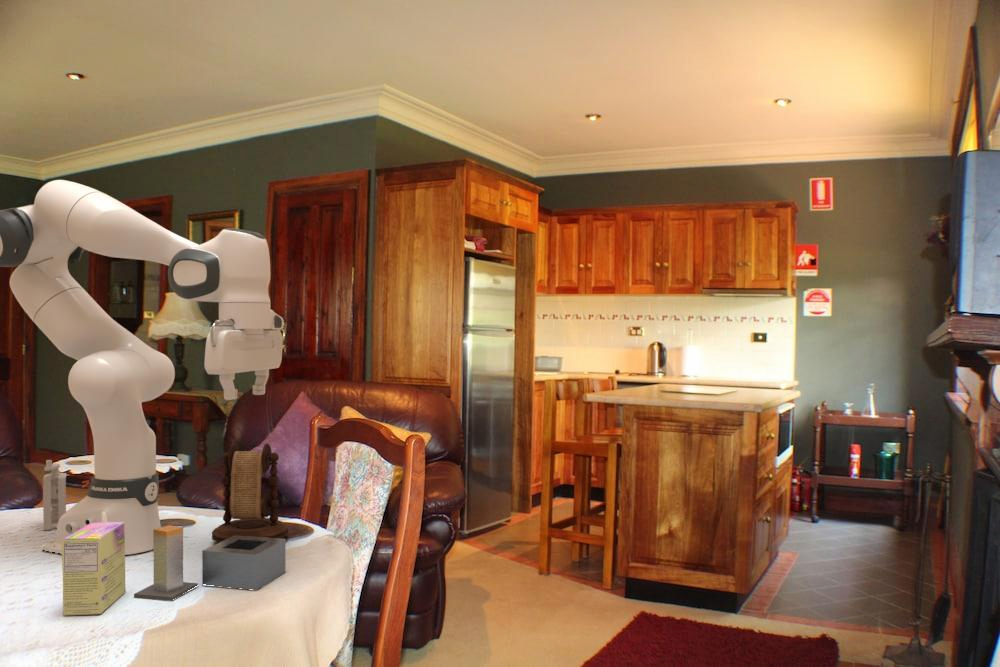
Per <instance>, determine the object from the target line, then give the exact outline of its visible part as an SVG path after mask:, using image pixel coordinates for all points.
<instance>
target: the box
mask: <svg viewBox="0 0 1000 667" xmlns="http://www.w3.org/2000/svg"><path fill="white" fill-rule="evenodd" d="M61 562H62V564H61V565H62V566H61V567H62V616H63V617H67V616H68V617H69V616H89V615H90V616H93V615H95V616H96V615H101V614H103V612H104V611H106V610H107V609H108V608H109V607H110V606H111V605H112V604H113V603H115V601H117V600H118V599H119V598H120V597H122V596H123V595H124V594H126V555H125V533H124V522H103V523H90V524H88V525H87V526H85V527H83V528H81V529H80V530H78V531H76V532H75V533H73V534H71V535H69V536H68V537H66V538H64V539H62V554H61Z"/></svg>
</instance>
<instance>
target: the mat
mask: <svg viewBox="0 0 1000 667" xmlns="http://www.w3.org/2000/svg"><path fill="white" fill-rule="evenodd" d="M197 585H198V586H199V583H198V582H189V581H188V582H186V581H185V582H184V581H183V588H181V589H178V590H176V591H173V592H170V593H163V592H159V591H154V583H153V584H151V585H149V586H146V587H145V588H143V589H141V590H139V591H137V592H135V593H134V594H133V598H137V599H146V598H147V600H156V599H158V600H159V601H167V600H173V599H175V598H177V597H178V596H180V595H182V594H183V593H185V592H187V591H188V590H190V589H192V588H194V587H195V586H197ZM182 596H183V595H182ZM180 597H181V596H180ZM177 599H178V598H177ZM175 600H176V599H175ZM173 601H174V600H173Z"/></svg>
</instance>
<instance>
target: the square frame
mask: <svg viewBox="0 0 1000 667" xmlns="http://www.w3.org/2000/svg"><path fill="white" fill-rule="evenodd" d="M201 554H202V555H201V556H202V557H201V558H202V559H201V560H202V561H201V562H202V566H201V567H202V568H201V569H202V571H201V572H202V574H201V575H202V578H201V579H202V580H201V582H202V583H201V584H202V585H203V584H206V585H214V586H222V587H231V588H242V589H253V590H257V589H258V588H260V587H261V588H263V587H264V586H263V585H265V584H266V585H267V583H268V584H269V583H271V582H273V581H274V580H275V579H278V578H279V577H281V576H282V575H284V574H285V573H286V538H267V537H252V536H238V535H234V536H232V537H230V538H228V539H226V540H224V541H222V542H220V543H218V544H216V543H215V544H214V545H211V546H209V547H208V548H205V549H203V550H202V551H201ZM272 580H273V581H272ZM270 581H271V582H270ZM266 585H265V586H266ZM262 586H263V587H262ZM261 588H260V589H261ZM253 590H252V591H253ZM258 590H259V589H258ZM258 590H257V591H258Z"/></svg>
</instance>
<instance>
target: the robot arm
mask: <svg viewBox="0 0 1000 667" xmlns="http://www.w3.org/2000/svg"><path fill="white" fill-rule="evenodd" d="M85 251H88V252H91V253H93V254H98V255H101V256H106V257H109V258H117V259H118V258H119V259H129V260H140V261H148V262H153V263H158V264H162V265H165V266H168V268H167V280H168V283H169V286H170V288H171V290H172V291H173V292H174V293H175V295H177V296H178V297H180V298H182V299H185V300H188V301H192V302H193V301H194V302H207V303H218V319H216V320H214V323H213V324H212V325H211V326H210V329H209V332H208V334H207V337H206V340H205V350H204V351H205V352H204V364H203V365H204V370H205V371H206V373H207V374H208V375H219V376H218V377H219V383H220V385H221V387H222V389H223V398H224V400H226V401H232V400H237V399H238V392H239V391H238V388H235V383H234V380H235V379H236V378H235V376H236V374H238V373H248V372H254V375H255V376H256V377H255V381H254V382H255V383H254V384H253V385H252V395H254V396H262V395H265V394H266V385H267V383H268V379H269V376H270V370H272V369H275V370H276V369H278V368H280V366H281V364H282V360H283V359H282V358H283V334H282V332H281V330H282V329H284V324H285V323H284V322H285V320H284V319H283V317H282V316H280V315H279V314H277V312H275V311H274V310H273V309H271V307H272V306H271V299H270V294H269V285H270V282H271V260H270V259H271V257H270V249H269V245H268V241H267V239H266V237H265V236H263V234H261V233H259V232H256V231H250V230H245V229H240V228H235V227H227V228H224V229H221V231H219V233H218V234H217V235H216V236H214V238H211V239H210V240H207V241H206V242H203V243H197V242H195V241H193V240H190V239H189V238H186V237H184V236H182V235H179V234H177V233H176V232H173V231H171V230H168V229H166V228H165V227H163V226H162V225H160V224H158V223H157V222H155V221H153V220H151V219H149V218H148V217H146V216H145V215H143V214H141V213H140V212H138V211H136V210H135V209H133V208H131V207H130V206H128V205H126V204H125V203H124V202H121V201H119V200H118V199H116V198H114V197H112V196H111V195H108V194H107V193H105V192H103V191H100V190H98V189H96V188H93V187H90V186H87V185H84V184H81V183H78V182H75V181H70V180H65V179H55V180H51V181H49V182H46V183H45V184H44V185H42V187H40V188H39V190H38V191H37V193H36V195H35V198H34V203H33V204H28V205H24V206H19V207H11V208H5V209H0V267H3V268H15V267H16V268H15V269H14V271H12V273H11V275H10V278H9V287H10V289H11V292H12V294H13V295H14V297H15V299H16V301H17V302H18V303H19V305H20V307H21V308H22V309H23V311H24V312H25V313H26V315H27V316H28V318H30V319H31V320H32V322H33V323H34V324H35V325H36V326H37V328H38V329H39V330H40V331H41V332H42V333H43V334H44V335H45V336H46V338H48V340H49V341H51V343H52V344H53V345H54V346H55V347H56V349H57V350H59V351H60V352H61V353H62V354H64V355H65V356H67V357H69V358H72V359H74V360H76V362H75V363H74V364H73V365H72V367H71V369H70V371H69V373H68V378H67V379H68V380H67V381H68V382H67V383H68V384H67V385H68V390H69V392H70V395H71V396H72V398H73V399H74V400H76V401H77V402H78V403H79V404H80V405H81V406H82V408H83V410H84V412H85V414H86V416H87V420H88V423H89V426H90V429H91V433H92V440H93V458H94V464H93V466H94V467H93V468H94V475H93V477H91V478H90V479H87V480H85V481H82V482H81V483H82V484H84V485H82V486H81V487H82V488H86V487H88V488H87V491H86V495H85V497H83V498H82V499H81V500H79V501H78V502H77V503H75V504H74V505H73V506H72V507H71V508H70V509H68V510H66V512H65V513H64V514H63V515H62V516H61V517H60V519H59V521H58V525H57V529H56V530H55V537H54V538H52V539H50V540H48V541H46V542H45V543H44V544H43V545H42V547H41V551H42V550H45V551H44V552H46V551H49V552H48V553H52V552H55V553H54V554H58V553H60V554H59V555H62V539H64V538H66V537H68V536H69V535H71V534H73V533H75V532H76V531H78V530H80V529H81V528H83V527H85V526H87V525H88V524H90V523H103V522H124V533H125V556H127V555H129V556H130V555H135V554H139V553H144V552H148V551H152V550H153V529H157V528H161V527H162V526H161V519H160V514H159V505H158V497H159V490H160V488H159V486H160V485H159V484H160V483H159V473H158V472H157V436H156V433H155V432H154V430H153V429H152V428H151V427H150V426H149V424H148V423H147V421H146V417H145V414H144V411H143V405H142V403H145V402H150V401H153V400H155V399H157V398H159V397H160V396H162V395H163V394H165V393H166V392H167V391H169V390H170V389H171V388H172V385H173V383H174V380H175V378H176V377H175V376H176V371H175V367H174V364H173V361H172V360H171V359H170V358H169V357H168V356H167V355H166V354H165V353H162V352H161V351H158V350H156V349H154V348H152V346H149V345H148V344H146V343H145V342H144V341H142V340H141V339H140V338H138V337H137V336H136V335H134V334H133V333H132V332H131V331H129V330H128V329H127V328H125V327H124V326H122V325H121V324H120V323H118V322H117V321H116V320H115V319H113V317H111V315H109V314H108V313H107V312H106V311H105V310H104V309H103V308H102V306H100V305H99V304H98V303H97V301H96V300H95V299H94V298H93V297H92V296H91V295H90V294H89V293H88V291H86V290H85V289H84V287H82V286H81V285H80V283H78V281H76V280H75V278H74V277H73V276H72V275H71V273H70V270H69V268H68V265H74V264H77V263H78V262H80V260H81V258H82V255H83V253H84V252H85Z"/></svg>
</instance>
